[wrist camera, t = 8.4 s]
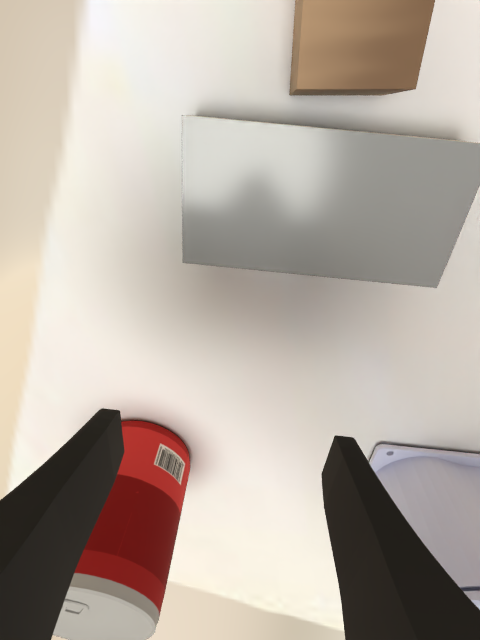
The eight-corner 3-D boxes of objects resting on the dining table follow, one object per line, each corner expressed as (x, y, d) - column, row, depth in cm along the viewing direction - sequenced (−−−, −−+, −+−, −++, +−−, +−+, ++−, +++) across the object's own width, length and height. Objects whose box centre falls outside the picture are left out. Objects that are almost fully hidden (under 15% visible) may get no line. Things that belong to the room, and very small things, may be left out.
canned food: (96, 407, 26) (0, 575, 16) (199, 429, 26) (164, 603, 17) (95, 469, 30) (17, 633, 20) (185, 487, 30) (150, 655, 21)
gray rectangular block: (457, 140, 16) (496, 144, 13) (413, 264, 19) (436, 288, 16) (195, 115, 16) (181, 115, 13) (194, 242, 19) (182, 262, 16)
